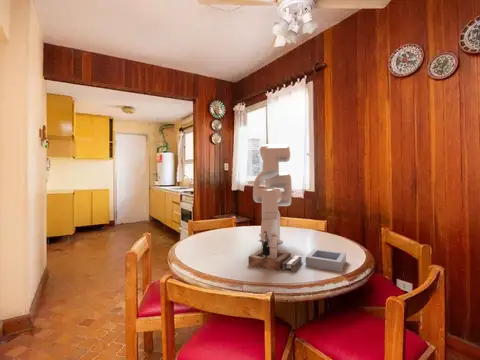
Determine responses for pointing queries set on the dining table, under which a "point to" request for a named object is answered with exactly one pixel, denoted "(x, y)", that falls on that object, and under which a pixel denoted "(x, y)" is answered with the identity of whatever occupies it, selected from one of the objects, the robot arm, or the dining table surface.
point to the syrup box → (272, 247)
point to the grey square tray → (326, 259)
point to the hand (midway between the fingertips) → (270, 252)
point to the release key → (293, 261)
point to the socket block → (273, 261)
